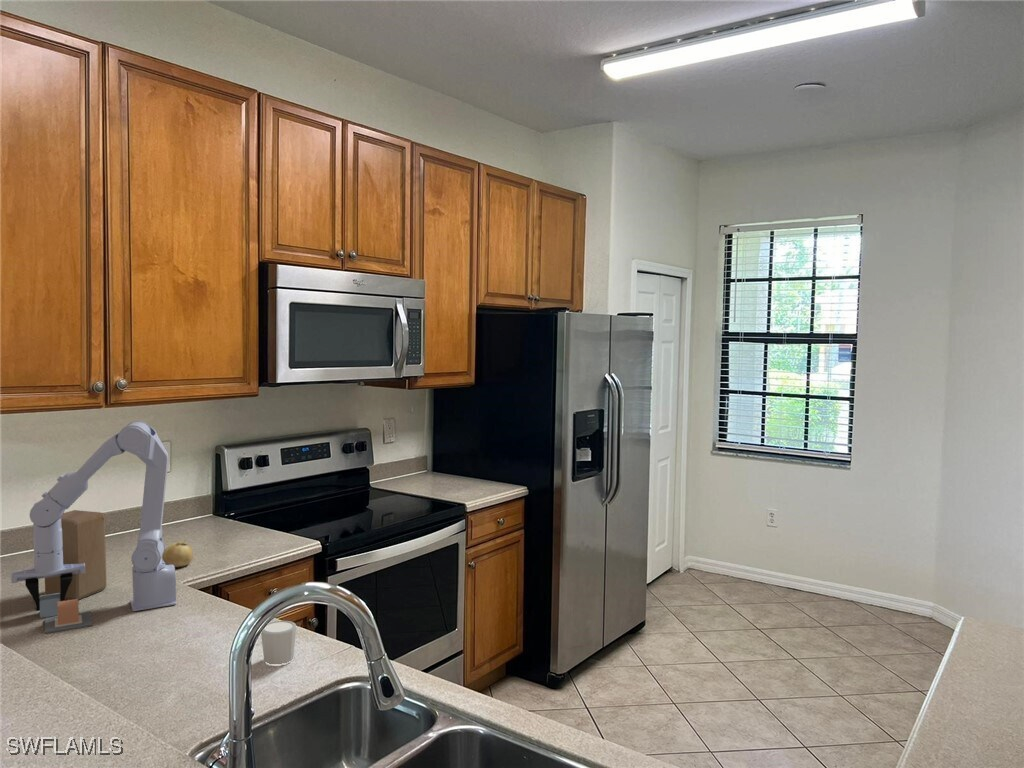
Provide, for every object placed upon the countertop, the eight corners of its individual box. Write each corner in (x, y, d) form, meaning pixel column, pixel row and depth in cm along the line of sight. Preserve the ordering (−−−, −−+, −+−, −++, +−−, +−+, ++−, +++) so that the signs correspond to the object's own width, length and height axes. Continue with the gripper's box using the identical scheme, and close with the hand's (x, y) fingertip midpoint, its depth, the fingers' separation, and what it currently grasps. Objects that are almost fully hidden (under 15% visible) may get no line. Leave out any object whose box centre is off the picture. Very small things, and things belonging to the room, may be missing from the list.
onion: (167, 572, 206) (166, 546, 206) (158, 564, 212) (158, 540, 212) (197, 566, 211) (196, 541, 211) (188, 559, 217) (188, 535, 217)
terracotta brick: (78, 615, 172) (78, 598, 172) (78, 621, 169) (78, 604, 169) (58, 619, 170) (57, 601, 170) (58, 625, 167) (57, 607, 167)
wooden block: (108, 589, 192) (106, 511, 191) (76, 602, 182) (73, 521, 181) (76, 585, 195) (74, 508, 193) (43, 598, 185) (40, 518, 184)
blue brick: (60, 609, 178) (59, 592, 177) (60, 614, 174) (59, 597, 174) (40, 612, 176) (39, 595, 175) (40, 618, 172) (39, 600, 172)
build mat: (90, 612, 176) (90, 610, 176) (92, 625, 168) (92, 623, 168) (45, 620, 171) (45, 618, 171) (44, 633, 163) (44, 631, 163)
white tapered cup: (255, 660, 151) (254, 626, 151) (286, 650, 156) (286, 617, 156) (271, 671, 147) (270, 636, 146) (303, 660, 151) (302, 626, 151)
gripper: (83, 541, 181) (85, 597, 182) (11, 550, 174) (13, 607, 175) (84, 549, 175) (86, 606, 176) (10, 558, 168) (12, 617, 169)
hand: (50, 607), depth 175 cm, fingers closed on blue brick, 4 cm apart
